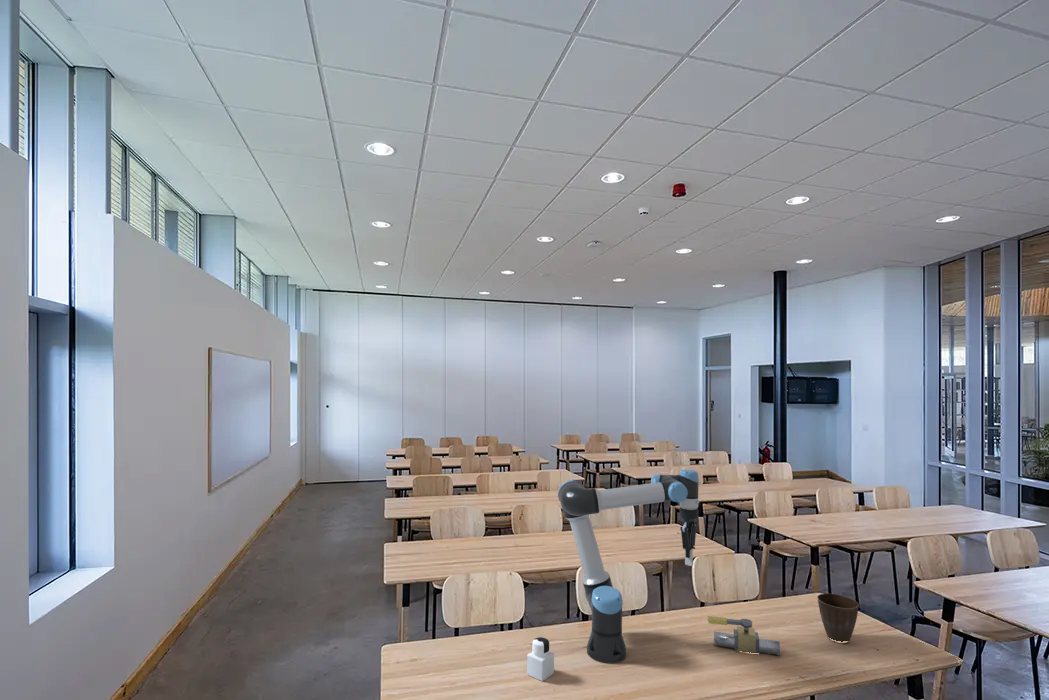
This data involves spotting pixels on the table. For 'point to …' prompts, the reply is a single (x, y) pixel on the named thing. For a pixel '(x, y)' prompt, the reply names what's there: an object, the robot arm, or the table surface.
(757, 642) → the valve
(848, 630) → the plant pot
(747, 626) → the lever
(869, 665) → the table surface
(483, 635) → the table surface
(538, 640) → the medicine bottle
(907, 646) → the table surface
